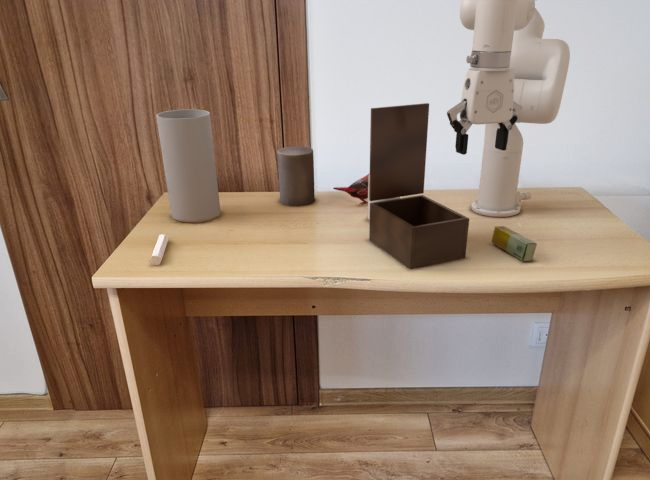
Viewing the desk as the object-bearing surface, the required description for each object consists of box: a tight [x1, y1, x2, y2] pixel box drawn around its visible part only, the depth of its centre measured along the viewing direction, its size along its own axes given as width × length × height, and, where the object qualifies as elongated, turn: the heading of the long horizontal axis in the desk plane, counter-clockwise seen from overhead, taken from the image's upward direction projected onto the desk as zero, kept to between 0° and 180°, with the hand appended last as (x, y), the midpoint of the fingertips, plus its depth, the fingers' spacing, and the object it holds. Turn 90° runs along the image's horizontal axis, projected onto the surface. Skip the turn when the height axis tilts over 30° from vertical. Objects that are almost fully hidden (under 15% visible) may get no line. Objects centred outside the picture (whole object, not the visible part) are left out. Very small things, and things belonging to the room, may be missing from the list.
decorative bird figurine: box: [332, 172, 370, 206], centre depth 164 cm, size 3×18×10 cm, turn 124°
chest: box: [368, 194, 470, 270], centre depth 137 cm, size 19×14×9 cm
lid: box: [369, 102, 430, 201], centre depth 138 cm, size 20×14×6 cm
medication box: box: [490, 225, 538, 263], centre depth 135 cm, size 12×3×4 cm, turn 23°
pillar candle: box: [276, 145, 316, 207], centre depth 167 cm, size 10×10×15 cm
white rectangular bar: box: [149, 233, 169, 266], centre depth 139 cm, size 3×2×16 cm
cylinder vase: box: [155, 109, 221, 224], centre depth 154 cm, size 12×12×25 cm
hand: (480, 151), depth 130 cm, fingers open, 9 cm apart
